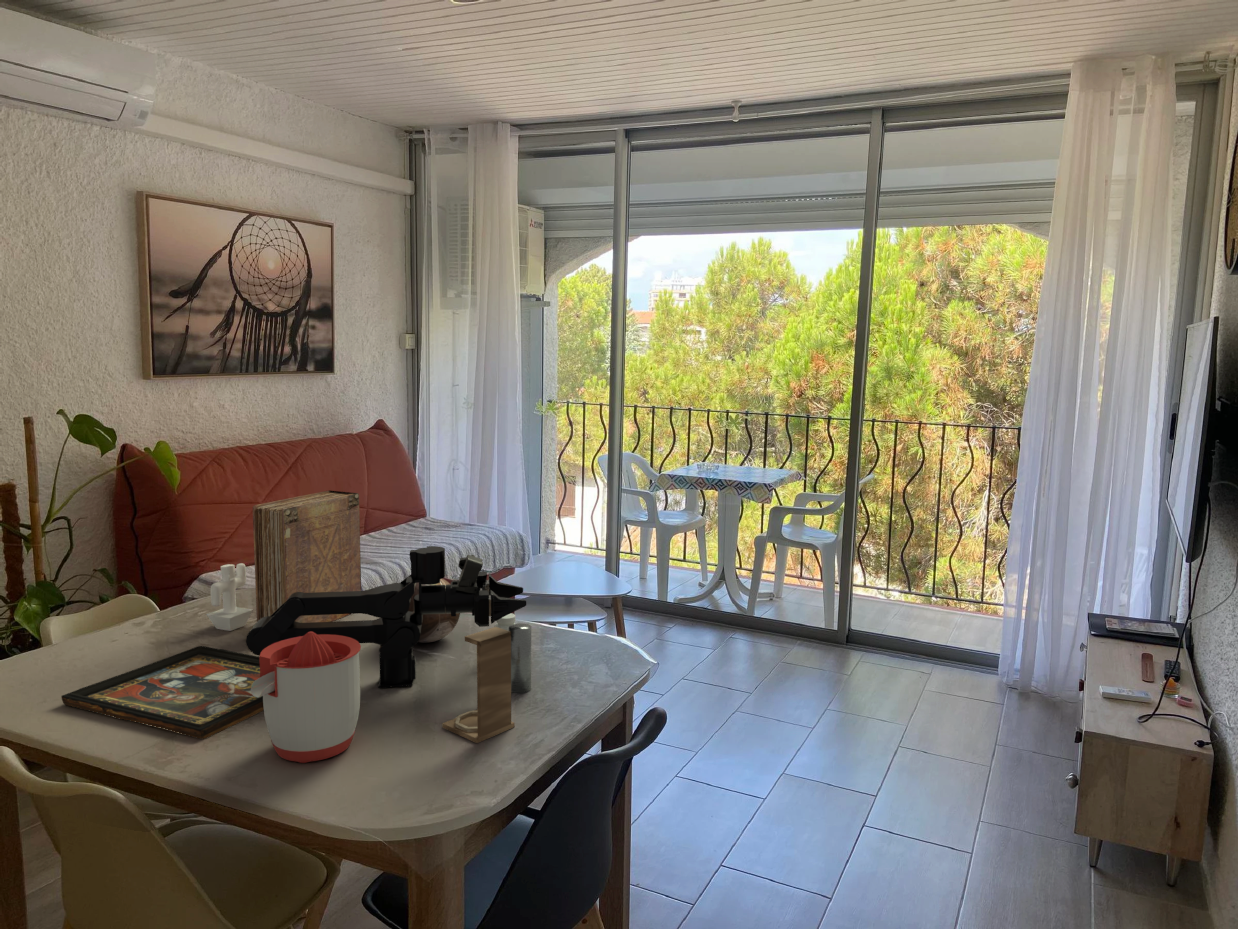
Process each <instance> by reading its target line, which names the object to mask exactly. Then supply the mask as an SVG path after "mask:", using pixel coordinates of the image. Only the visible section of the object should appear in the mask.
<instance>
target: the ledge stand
mask: <svg viewBox="0 0 1238 929" xmlns="http://www.w3.org/2000/svg"><path fill="white" fill-rule="evenodd" d="M464 642H467V643H469V644H472V645H475V646H476V692H477V695H476V697H477V698H476V700H477V701H476V702H477V705H476V706H477V709H475V710H469V711H467V712H464V713H461V714H459V715H457V716H456V717H455V718H452V719H450V720H447V721H445V722H442V724H441V726H442V729H444V730H447V731H449V732H451V733H454V734H455V735H458V736H460V737H463V738H465V739H466V740H469V741H471V742H473V743H475V744H479V743H481V742H484V741H485V740H488V739H490V738H493V737H495V736H497V735H499V734H501V733H504V732H507V731H508V730H510V729H513V728H515V726H516V725H515V724H516V723H515V722H513V721H512V692H511V631H507V630H504V629H501V628H498V627H494V626H493V627H491V628H487V629H484V630H482V631H481V630H480V631H477V632H474V633H471V634H468V635H465V636H464Z"/></svg>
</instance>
